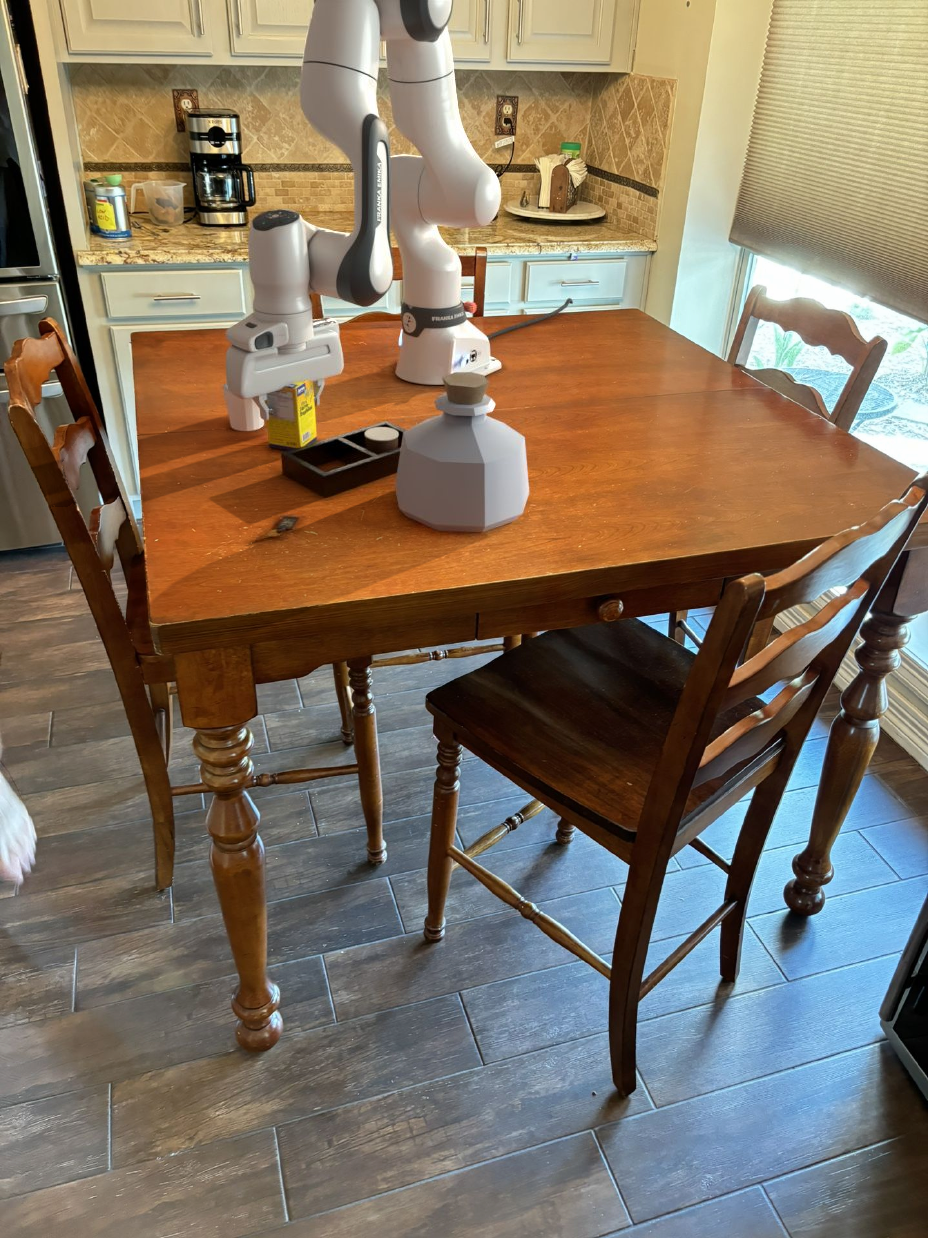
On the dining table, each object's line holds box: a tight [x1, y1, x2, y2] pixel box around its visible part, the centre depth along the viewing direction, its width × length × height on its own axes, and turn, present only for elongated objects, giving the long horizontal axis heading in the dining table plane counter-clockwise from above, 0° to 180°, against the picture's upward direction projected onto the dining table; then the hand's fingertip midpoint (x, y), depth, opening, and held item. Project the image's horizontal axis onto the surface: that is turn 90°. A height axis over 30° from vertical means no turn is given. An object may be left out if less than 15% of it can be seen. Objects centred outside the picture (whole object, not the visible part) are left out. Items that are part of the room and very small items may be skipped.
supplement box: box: [264, 380, 318, 451], centre depth 148 cm, size 6×6×11 cm
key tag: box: [255, 515, 299, 542], centre depth 125 cm, size 8×3×1 cm, turn 159°
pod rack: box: [280, 420, 407, 499], centre depth 143 cm, size 21×11×4 cm, turn 134°
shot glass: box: [222, 382, 265, 432], centre depth 155 cm, size 7×7×7 cm
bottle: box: [394, 372, 530, 533], centre depth 129 cm, size 20×20×19 cm
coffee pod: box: [365, 427, 399, 455], centre depth 146 cm, size 5×5×4 cm
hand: (290, 412), depth 148 cm, fingers open, 8 cm apart
